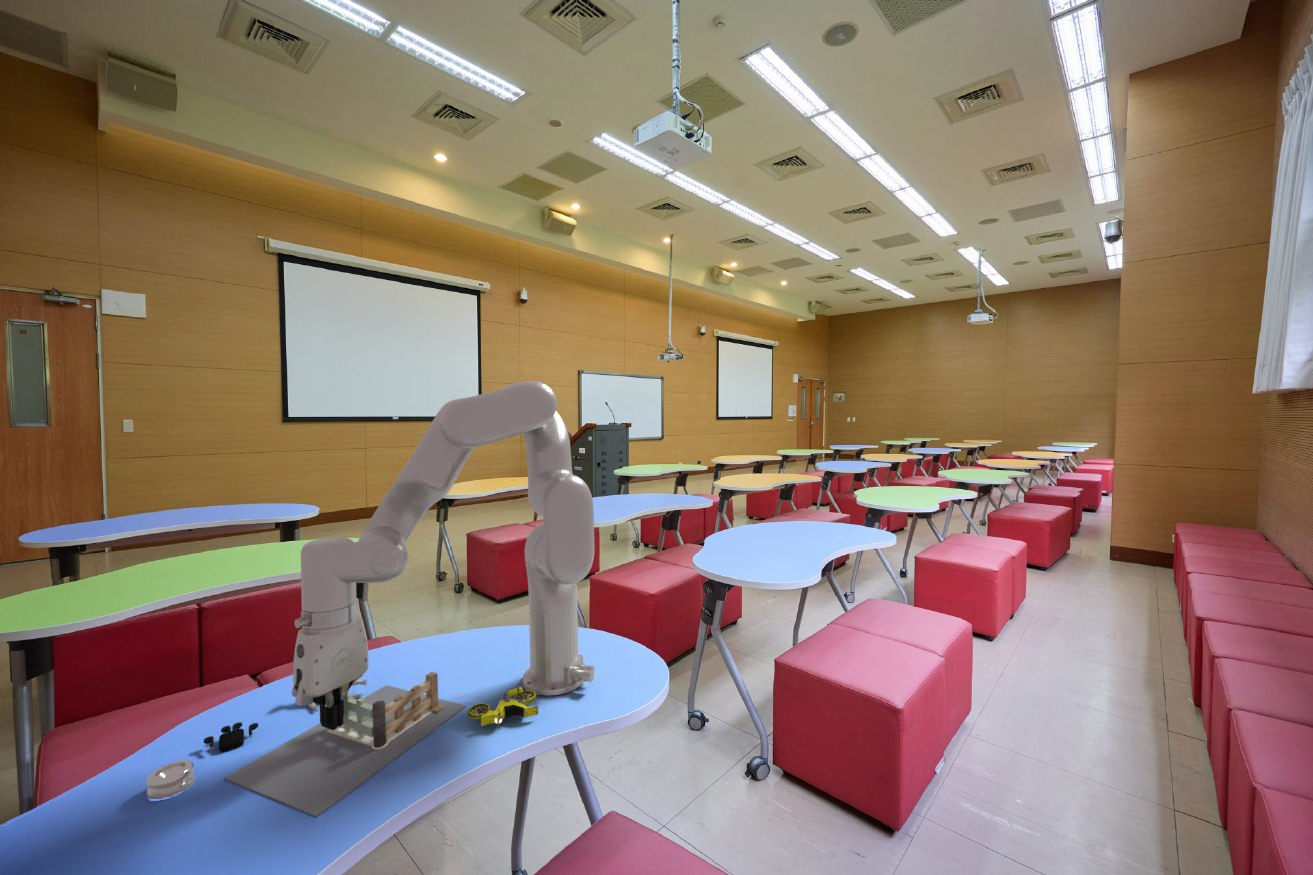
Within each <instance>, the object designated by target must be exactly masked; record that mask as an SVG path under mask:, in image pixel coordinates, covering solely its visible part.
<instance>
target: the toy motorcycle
mask: <svg viewBox="0 0 1313 875" xmlns="http://www.w3.org/2000/svg"><path fill="white" fill-rule="evenodd" d="M523 688H524V687H523V686H519V687H517V688H516V687H515V688H512V689H509V690H507V691H506V692H505V693H504V694H502V700H500V701H499V703H498V705H497V707H496V708H495V709H494V710H492V709H491V705H490V704H488V703H486V702H485V703H484V702H481V703H480V702H479V703H476V704H473V705H471V706H470V707H469V708H468V709H467V716H468V718H470V719H472V720H474V719H475V720H476V719H477V720H480V727H485V726H488V725H493V724H496V725H498V730H501V724H502V722H503V720H504V719H506V718H510V717H512V716H513V717H514V716H516V717H520V718H527V717H532V716H536V715H538V714H539V705H533V706H531V705H530V704H532V703H534V701H536V700H537V694H536V693H535V692H533V691H531V690H530V691H529V690H526V689H524V690H523ZM507 697H508V698H507ZM529 705H530V706H529Z"/></svg>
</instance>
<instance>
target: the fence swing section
mask: <svg viewBox="0 0 1313 875" xmlns="http://www.w3.org/2000/svg"><path fill="white" fill-rule="evenodd" d="M352 694H353V693H349V692H348V696H347V698H346V699H345V700H344V716H343V725H344V730H346V731H351V730H353V729H355V730H357V731H358V736H361V737H363V736H365V735H369V736H373V723H372V722H369V721H366V717H369V718H373V709H372V705H370V704H367V703H366V699H363V698H364V697H362V698H357V699H356V698H352ZM353 712H356V713H357V717H356V716H354V715H353ZM338 727H339V726H338Z"/></svg>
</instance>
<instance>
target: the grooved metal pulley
mask: <svg viewBox="0 0 1313 875" xmlns="http://www.w3.org/2000/svg"><path fill="white" fill-rule="evenodd" d="M194 770H195V765H194V762H192V761H191V760H188V759H182V760H181V759H180V760H177V761H173V762H169V763H166V764H164V765H162V766H160V767H159V768H157V769H155V770H154V771H153V772H151V774H150V775H149V776H148V777H147V779H146V787H147V788H148V789H147V791H146V798H147V797H148V798H149V799H162V798H165V797H171V796H173V795H175V794H178V793H179V792H182V791H184V790H186V789H187V788H189V787H190V786H191V785H192V784H193V783H194V784H195V782H196V781H195V773H194ZM194 781H195V782H194ZM194 784H193V785H194ZM193 785H192V786H193ZM192 786H191V787H192ZM191 787H190V788H191ZM190 788H189V789H190ZM186 791H187V790H186Z"/></svg>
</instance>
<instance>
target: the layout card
mask: <svg viewBox="0 0 1313 875" xmlns="http://www.w3.org/2000/svg"><path fill="white" fill-rule="evenodd" d="M409 691H410V690H407V689H402V688H401V687H396V686H391V685H388V684H386V685H384V686H382V687H381V688H378V689H377V690H375V691H374V692H372V693H370V694H368V695H367V696H365V697H362V698H363V699H366V703H367V704H370V705H373V704H374V703H375V702H377V701H385V706H386V705H387V704H389V703H391V702H392V701H394V699H395V698H397V697H398V696H402V695H404V694H405V693H407V692H409ZM420 697H421V700H423V699H424V698H426V694H423V695H421V696H420ZM438 705H441V706H444V709H443V710H442V711H440V712H439V713H435V712H433V711H429V710H424V711H422V712H421V718H420V719H419V720H417V721H412V719H411V720H409V721H408V722H406V723H405V724H404V730H403V731H401V732H400V733H396V732H395V730H394V731H393V732H391V733H390V734H388V735H387V736H386V744H385V745H384V746H382V747H379V748H375V747H374V736H369V735H365V736H363V737H361V736H358V731H357V730H355V729H353V730H351V731H346V730H344V725H342V726H340V727H337V728H336V729H335V730H331V729H328V728H325V727H323V726H322V725H321V723H320V722H319V723H318V724H316V725H314V726H313V727H311V728H309V729H307V730H306V731H303V732H302V733H300V734H298V735H297V736H295V737H293V738H291V739H289V740H288V741H286V742H285V743H283V744H281V745H279V746H278V747H275V748H274V749H273V750H270V751H268V752H267V753H265V754H263V755H262V756H260V757H259V758H257V759H255V760H253V761H251V762H250V763H247V764H246V765H244V766H243V767H241V768H239V769H238V770H235V771H234V772H232V773H230V774H229V775H227V776H225V777H224V778H223V779H224V780H226V781H228V782H231V783H233V784H235V785H238V786H240V787H243V788H245V789H248V790H249V791H253V792H254V793H257V794H260V795H262V796H264V797H266V798H269V799H272V800H274V801H276V802H278V803H282V804H284V805H286V806H289V807H292V808H293V809H295V810H298V811H301V812H304V813H306V814H308V815H311V816H312V817H315V818H318V817H319V816H320V815H322V814H323V813H324V812H325V811H327V810H328V809H329V808H331V807H332V806H334V805H335V804H336V803H338V802H339V801H341V800H342V799H344V797H346V796H347V795H349V794H350V793H351V792H352V791H355V789H357V788H358V787H359V786H361V785H362V784H364V783H365V782H366V781H369V779H370V778H372V777H373V776H375V775H376V774H377V773H379V772H380V771H381V770H383V769H384V768H385V767H386V766H388V765H389V764H391V763H392V762H393V761H395V760H396V759H397V758H399V757H400V756H402V754H404V753H405V752H406V751H408V750H409V749H411V748H412V747H413V746H415V745H416V744H418V743H420V741H422V740H423V739H425V737H427V736H428V735H429V734H431V733H432V732H434V731H435V730H436V729H438V728H439V727H440V726H442V725H443V724H445V723H446V722H447V721H449V720H450V719H451V718H453V717H454V716H456V715H457V714H458V713H459V712H461V711H462V710H463V709H465V708H466V707H467V705H465V704H463V703H457V702H453V701H451V700H446V699H442V698H439V697H438ZM410 707H412V702H410V703H408V704H407V705H405V706H404V711H406V710H407V709H409V708H410ZM353 715H354V716H356V717H357V713H356V712H353ZM392 719H394V713H393V714H391V715H390V716H388V717H387V718H386V723H387V722H389V721H390V720H392ZM366 721H369V722H372V723H373V718H369V717H366Z"/></svg>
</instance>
